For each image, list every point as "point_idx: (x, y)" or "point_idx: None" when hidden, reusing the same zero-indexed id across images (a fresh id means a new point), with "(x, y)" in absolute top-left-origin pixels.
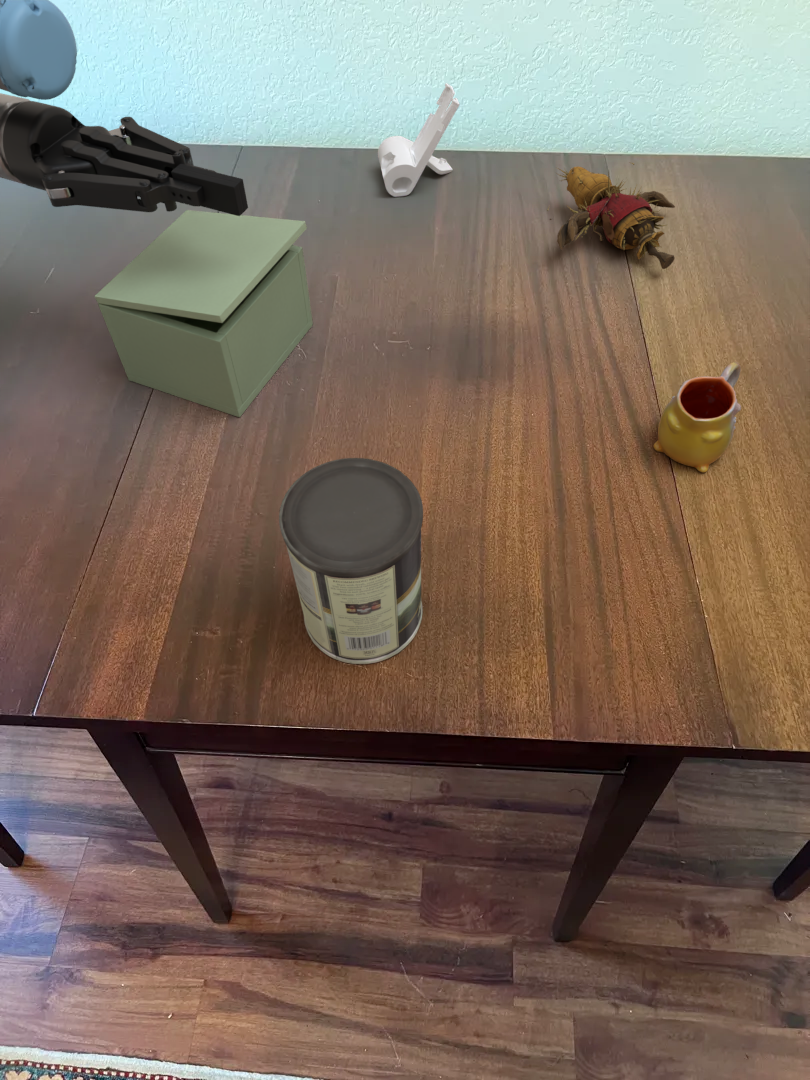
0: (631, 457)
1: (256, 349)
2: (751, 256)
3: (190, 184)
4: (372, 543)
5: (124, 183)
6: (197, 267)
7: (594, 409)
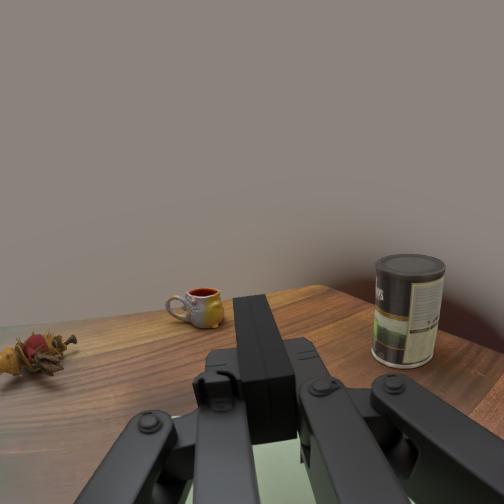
0: (227, 331)
1: None
2: (61, 331)
3: (290, 354)
4: (411, 258)
5: (445, 409)
6: (310, 501)
7: (199, 347)
